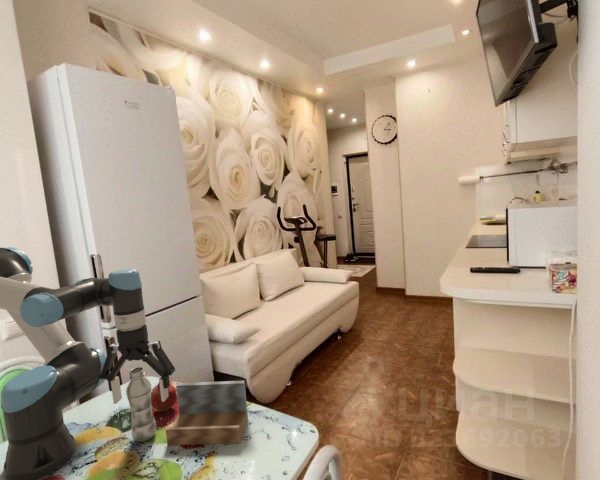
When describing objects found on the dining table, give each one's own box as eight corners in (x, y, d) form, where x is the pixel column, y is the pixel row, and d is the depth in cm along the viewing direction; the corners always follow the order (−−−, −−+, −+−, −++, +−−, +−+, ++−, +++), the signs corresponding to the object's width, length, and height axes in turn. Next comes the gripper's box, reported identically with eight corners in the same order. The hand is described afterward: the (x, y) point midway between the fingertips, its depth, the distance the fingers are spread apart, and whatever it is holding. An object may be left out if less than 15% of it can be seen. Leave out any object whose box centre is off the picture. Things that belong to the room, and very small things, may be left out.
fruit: (165, 400, 117) (162, 372, 116) (183, 405, 113) (180, 376, 112) (145, 414, 110) (142, 384, 108) (164, 420, 106) (160, 388, 105)
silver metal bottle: (161, 429, 101) (154, 364, 99) (149, 445, 95) (141, 376, 93) (141, 429, 102) (132, 364, 100) (127, 445, 95) (118, 376, 93)
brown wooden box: (167, 445, 94) (162, 403, 93) (182, 420, 105) (178, 383, 104) (240, 443, 93) (236, 401, 92) (248, 418, 104) (244, 380, 102)
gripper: (78, 334, 92) (89, 409, 94) (170, 328, 90) (179, 405, 93) (96, 324, 99) (106, 394, 102) (181, 318, 98) (190, 390, 100)
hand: (141, 400), depth 97 cm, fingers open, 13 cm apart
